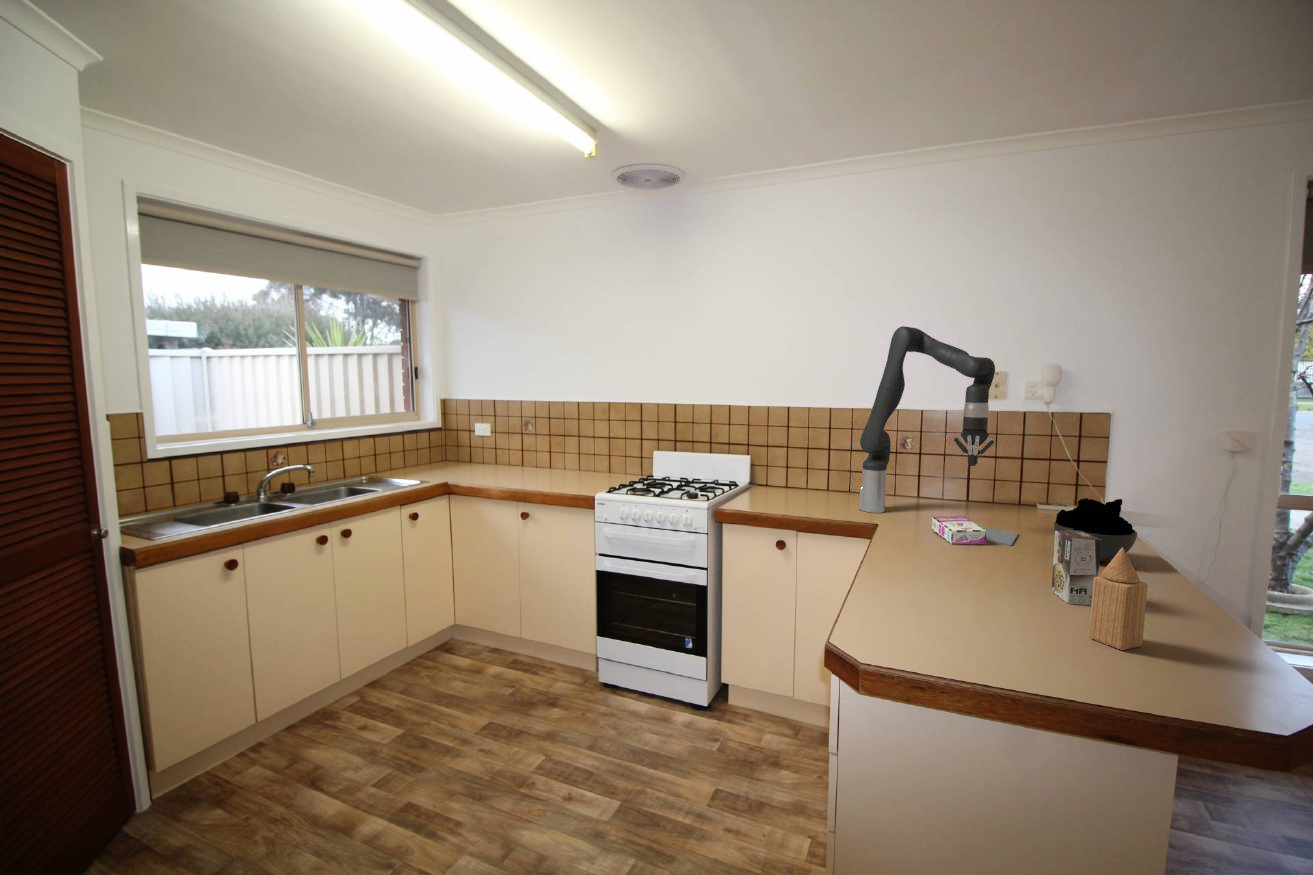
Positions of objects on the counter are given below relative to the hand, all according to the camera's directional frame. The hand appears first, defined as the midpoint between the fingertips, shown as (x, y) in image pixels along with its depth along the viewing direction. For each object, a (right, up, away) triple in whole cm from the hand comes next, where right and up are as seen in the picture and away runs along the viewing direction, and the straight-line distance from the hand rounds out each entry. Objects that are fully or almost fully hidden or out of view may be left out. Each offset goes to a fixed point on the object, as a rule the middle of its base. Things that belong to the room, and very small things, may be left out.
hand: (972, 465), depth 205 cm
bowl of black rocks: (+21, -27, -28) cm, 44 cm away
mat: (+5, -24, -1) cm, 25 cm away
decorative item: (-16, -32, -84) cm, 92 cm away
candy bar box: (-7, -20, +3) cm, 22 cm away
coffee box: (-7, -30, -60) cm, 67 cm away
